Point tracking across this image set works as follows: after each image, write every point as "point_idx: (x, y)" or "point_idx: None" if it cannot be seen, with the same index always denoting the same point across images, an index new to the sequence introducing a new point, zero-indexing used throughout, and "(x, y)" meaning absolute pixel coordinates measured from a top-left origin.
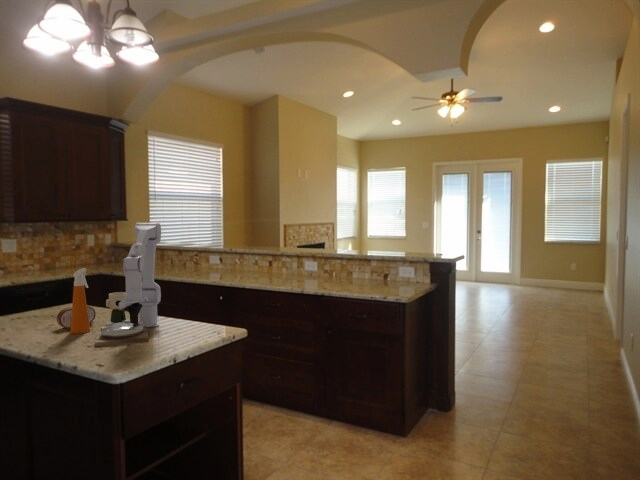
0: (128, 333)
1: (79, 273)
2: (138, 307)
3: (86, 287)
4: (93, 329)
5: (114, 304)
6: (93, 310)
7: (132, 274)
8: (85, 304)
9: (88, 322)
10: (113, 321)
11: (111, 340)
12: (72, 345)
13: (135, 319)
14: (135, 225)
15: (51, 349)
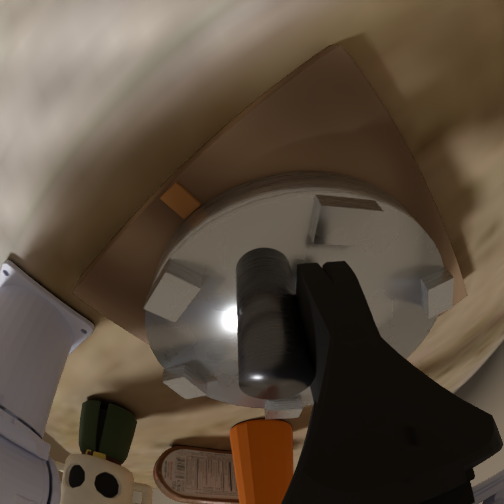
0: (408, 213)
1: None
2: (454, 436)
3: None
4: (220, 422)
5: (124, 486)
6: (164, 481)
7: None
8: None
9: (250, 451)
10: (133, 423)
11: (444, 255)
12: (429, 353)
13: (360, 291)
14: None
15: (459, 360)
